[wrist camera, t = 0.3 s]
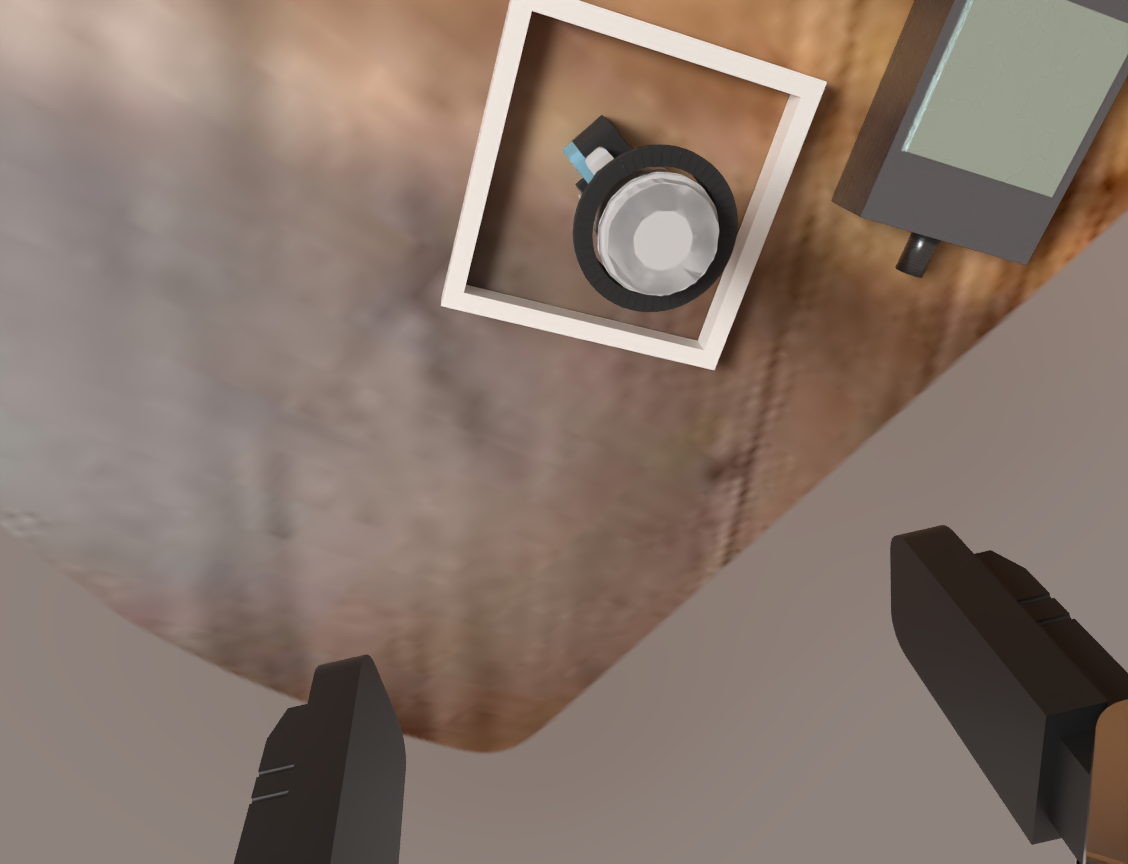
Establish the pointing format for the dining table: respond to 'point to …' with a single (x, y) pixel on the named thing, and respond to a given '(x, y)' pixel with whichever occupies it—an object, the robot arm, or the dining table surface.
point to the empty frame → (752, 234)
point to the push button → (649, 220)
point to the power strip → (985, 121)
